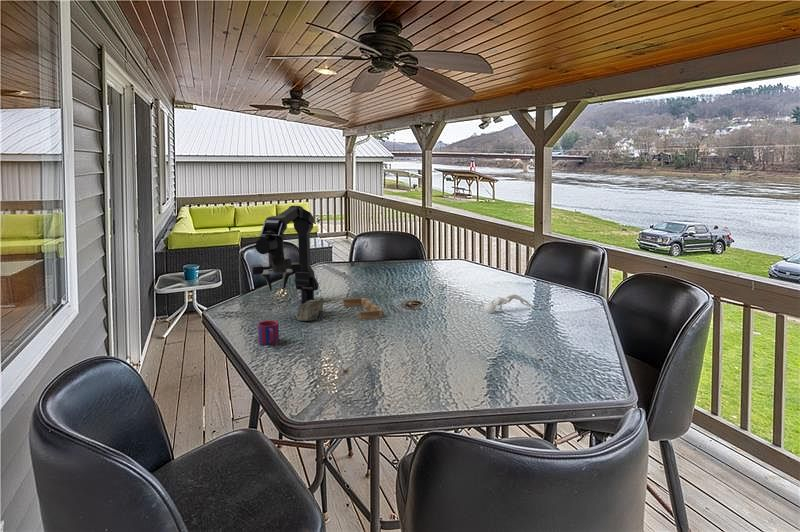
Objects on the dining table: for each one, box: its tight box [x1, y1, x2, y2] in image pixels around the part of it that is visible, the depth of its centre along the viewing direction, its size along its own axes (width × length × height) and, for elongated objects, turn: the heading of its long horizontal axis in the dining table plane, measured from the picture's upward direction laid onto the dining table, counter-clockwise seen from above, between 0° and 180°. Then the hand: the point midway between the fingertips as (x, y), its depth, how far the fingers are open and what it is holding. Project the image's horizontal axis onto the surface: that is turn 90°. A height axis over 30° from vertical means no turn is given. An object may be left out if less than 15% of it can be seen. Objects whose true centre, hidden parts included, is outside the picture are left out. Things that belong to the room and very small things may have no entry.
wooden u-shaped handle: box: [342, 297, 383, 321], centre depth 215 cm, size 23×10×3 cm, turn 24°
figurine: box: [483, 294, 542, 314], centre depth 221 cm, size 9×10×25 cm
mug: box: [257, 320, 280, 346], centre depth 173 cm, size 7×10×7 cm
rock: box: [295, 297, 324, 322], centre depth 206 cm, size 17×7×10 cm
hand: (277, 290), depth 199 cm, fingers open, 5 cm apart
